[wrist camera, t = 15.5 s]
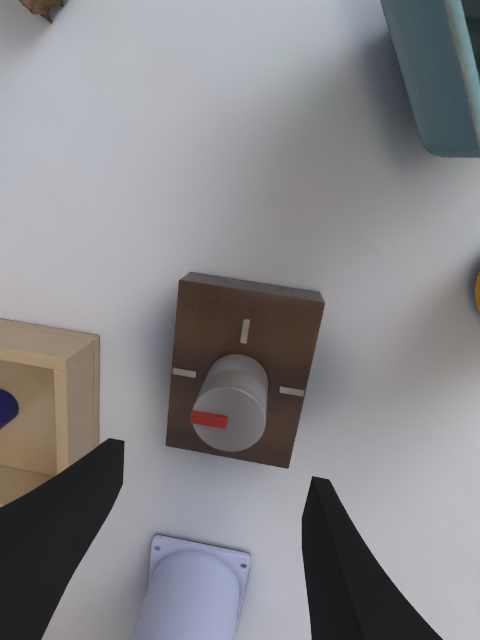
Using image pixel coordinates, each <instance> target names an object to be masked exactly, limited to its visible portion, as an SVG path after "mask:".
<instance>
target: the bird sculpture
mask: <svg viewBox="0 0 480 640" xmlns="http://www.w3.org/2000/svg"><path fill="white" fill-rule="evenodd" d="M19 1H20V2H21V4H22V5H23V6H24V7H26V8H27V9H28V10H29V11H30V12H31V13H32V14H38V13H39V14H40V15H41V16H43V17H44V18H46V19H47V20H48V21H49V22H50V23H51V24H52V20H51V19H50V16H49V11H50V8H51V6H53V5H59V6H61V7H63V4H62V2H61V1H62V0H19Z"/></svg>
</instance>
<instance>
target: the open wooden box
mask: <svg viewBox="0 0 480 640" xmlns="http://www.w3.org/2000/svg"><path fill="white" fill-rule="evenodd" d="M99 342H100V336H99V335H94V334H88V333H82V332H76V331H70V330H64V329H58V328H52V327H47V326H41V325H35V324H29V323H23V322H17V321H11V320H5V319H0V389H3V390H5V391H7V392H9V393H10V394H12V395H13V396H14V398H15V399H16V401H17V403H18V406H19V412H18V414H17V416H16V417H15V418H14V419H13V420H12V421H10V422H9V423H8V424H6V425H5V426H4V427H3V428H1V429H0V507H2V506H4V505H6V504H8V503H10V502H12V501H14V500H16V499H17V498H19V497H21V496H23V495H25V494H27V493H28V492H30V491H32V490H33V489H35V488H37V487H38V486H40V485H42V484H43V483H45V482H46V481H48V480H50V479H51V478H53V477H54V476H56V475H57V474H59V473H60V472H62V471H63V470H65V469H66V468H68V467H69V466H71V465H72V464H73V463H75V462H76V461H78V460H79V459H81V458H82V457H83V456H85V455H86V454H88V453H89V452H90V451H92V450H93V449H95V448H96V447H97V446H99Z"/></svg>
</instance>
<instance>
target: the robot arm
mask: <svg viewBox="0 0 480 640" xmlns="http://www.w3.org/2000/svg"><path fill="white" fill-rule="evenodd" d="M123 467H124V441H122V440H116V439H111V438H109V439H107V440H106V441H104V442H103V443H101V444H100V445H99V446H97V447H96V448H95V449H93V450H92V451H90V452H89V453H88V454H86V455H85V456H83V457H82V458H81V459H79V460H78V461H76V462H75V463H73V464H72V465H71V466H69V467H68V468H66V469H65V470H63V471H62V472H60V473H59V474H57V475H56V476H54V477H53V478H51V479H50V480H48V481H46V482H45V483H43V484H42V485H40V486H38V487H37V488H35V489H33V490H32V491H30V492H28V493H27V494H25V495H23V496H21V497H19V498H17V499H16V500H14V501H12V502H10V503H8V504H6V505H4V506H2V507H0V640H41V639H42V637H43V635H44V632H45V630H46V628H47V626H48V624H49V622H50V620H51V617H52V615H53V613H54V611H55V609H56V607H57V605H58V603H59V601H60V599H61V597H62V595H63V593H64V591H65V589H66V587H67V585H68V583H69V581H70V579H71V577H72V575H73V574H74V572H75V570H76V568H77V567H78V565H79V563H80V562H81V560H82V558H83V557H84V555H85V553H86V552H87V550H88V548H89V547H90V545H91V543H92V541H93V540H94V538H95V536H96V535H97V533H98V531H99V530H100V528H101V526H102V525H103V523H104V521H105V520H106V518H107V516H108V514H109V513H110V511H111V509H112V507H113V505H114V503H115V500H116V498H117V496H118V494H119V491H120V489H121V487H122V485H123ZM302 553H303V562H304V571H305V579H306V588H307V596H308V605H309V613H310V623H311V635H312V640H443V639H442V638H441V637H440V636H439V635H438V634H437V633H436V632H435V631H434V630H433V629H432V628H431V627H430V625H429V624H428V623H427V622H426V621H425V620H424V619H423V618H422V617H421V615H420V614H419V613H418V612H417V611H416V610H415V609H414V607H413V606H412V605H411V604H410V603H409V602H408V601H407V599H406V598H405V597H404V596H403V595H402V593H401V592H400V591H399V590H398V588H397V587H396V586H395V585H394V583H393V582H392V581H391V579H390V578H389V577H388V575H387V574H386V573H385V571H384V570H383V569H382V567H381V566H380V564H379V563H378V562H377V560H376V559H375V557H374V556H373V554H372V553H371V551H370V550H369V548H368V547H367V545H366V544H365V542H364V540H363V539H362V537H361V536H360V534H359V532H358V531H357V529H356V527H355V526H354V524H353V522H352V521H351V519H350V517H349V515H348V514H347V512H346V510H345V508H344V506H343V505H342V503H341V501H340V499H339V497H338V495H337V493H336V491H335V489H334V487H333V485H332V483H331V482H330V480H329V479H324V478H319V477H313V476H312V480H311V484H310V488H309V492H308V496H307V500H306V504H305V508H304V512H303V516H302ZM250 559H251V558H250V555H249V554H248V553H245V552H240V551H235V550H230V549H225V548H220V547H215V546H210V545H206V544H201V543H196V542H191V541H186V540H181V539H176V538H171V537H166V536H161V535H155V536H154V537H153V539H152V542H151V554H150V568H149V581H148V590H147V593H146V596H145V599H144V602H143V605H142V608H141V611H140V613H139V616H138V619H137V622H136V625H135V628H134V631H133V634H132V637H131V640H234V639H235V635H236V631H237V626H238V621H239V616H240V611H241V606H242V601H243V596H244V591H245V586H246V581H247V576H248V571H249V566H250Z"/></svg>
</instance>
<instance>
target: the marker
mask: <svg viewBox="0 0 480 640" xmlns="http://www.w3.org/2000/svg"><path fill="white" fill-rule="evenodd" d="M18 412H19V406H18V403H17V401H16V399H15V398H14V396H13V395H12V394H10V393H9V392H7V391H5V390H3V389H0V429H1V428H3V427H4V426H5V425H6V424H8V423H9V422H10V421H12V420H13V419H14V418H15V417H16V416H17V414H18Z"/></svg>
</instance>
